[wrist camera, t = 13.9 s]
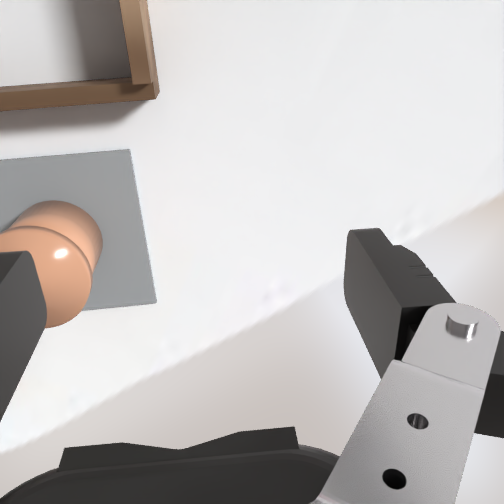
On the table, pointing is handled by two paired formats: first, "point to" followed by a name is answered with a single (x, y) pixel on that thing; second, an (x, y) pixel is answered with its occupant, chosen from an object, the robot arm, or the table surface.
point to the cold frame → (101, 90)
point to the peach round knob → (58, 254)
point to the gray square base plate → (98, 207)
